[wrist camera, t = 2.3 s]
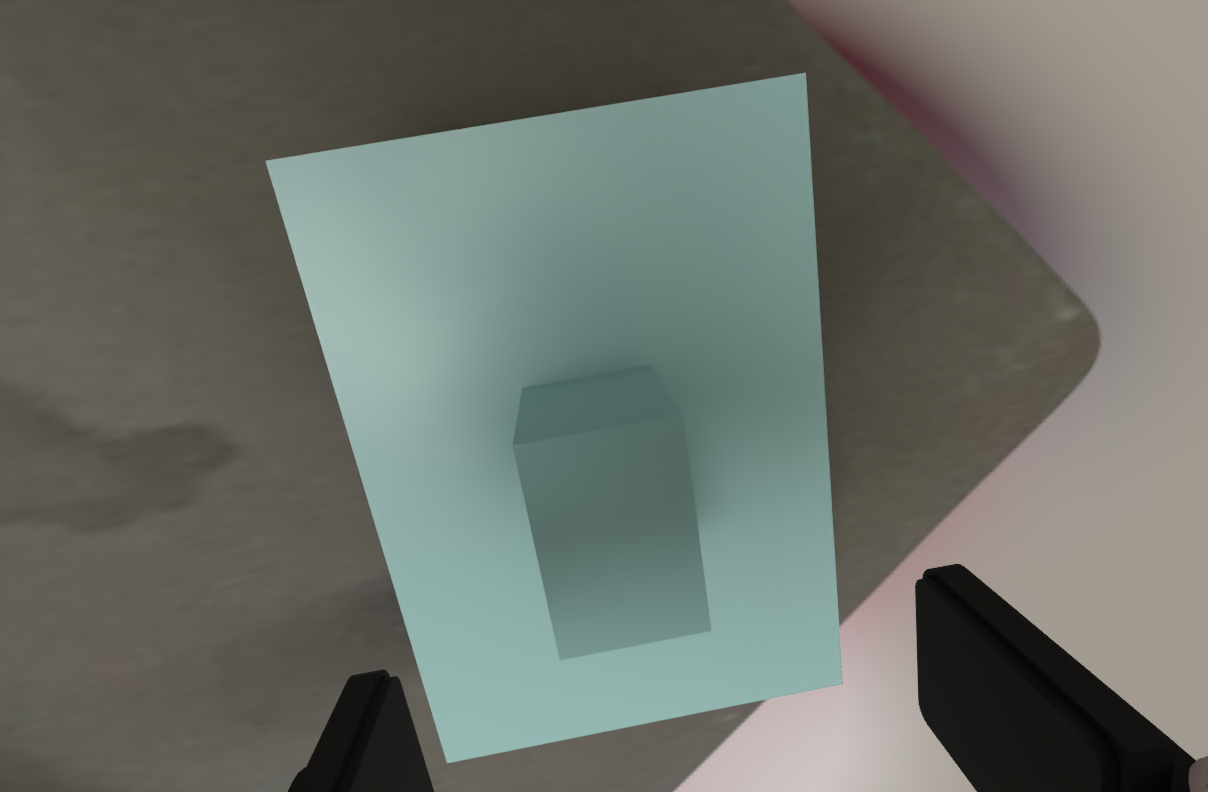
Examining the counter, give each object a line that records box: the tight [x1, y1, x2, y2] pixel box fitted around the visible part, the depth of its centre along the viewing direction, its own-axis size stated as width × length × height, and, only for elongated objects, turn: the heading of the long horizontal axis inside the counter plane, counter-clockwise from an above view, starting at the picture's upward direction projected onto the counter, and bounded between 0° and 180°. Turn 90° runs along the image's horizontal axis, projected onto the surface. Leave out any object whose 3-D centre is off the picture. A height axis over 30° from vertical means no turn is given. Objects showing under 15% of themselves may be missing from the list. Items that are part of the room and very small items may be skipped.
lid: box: [266, 73, 843, 763], centre depth 18 cm, size 21×15×6 cm
